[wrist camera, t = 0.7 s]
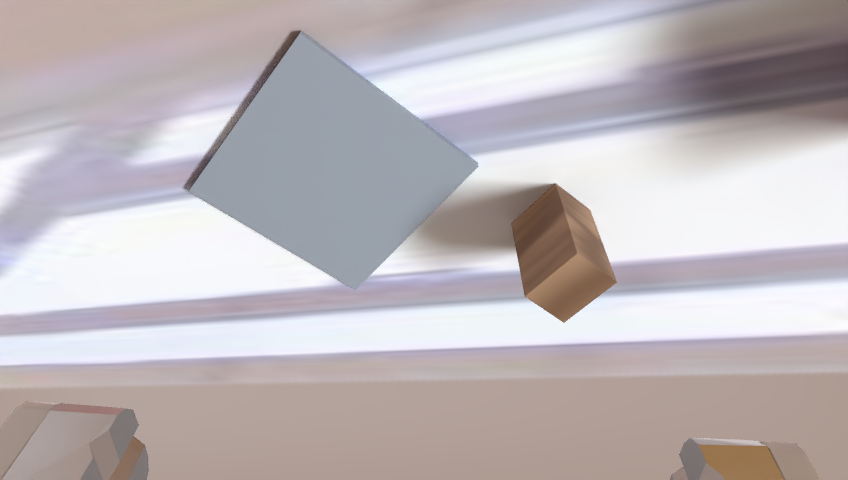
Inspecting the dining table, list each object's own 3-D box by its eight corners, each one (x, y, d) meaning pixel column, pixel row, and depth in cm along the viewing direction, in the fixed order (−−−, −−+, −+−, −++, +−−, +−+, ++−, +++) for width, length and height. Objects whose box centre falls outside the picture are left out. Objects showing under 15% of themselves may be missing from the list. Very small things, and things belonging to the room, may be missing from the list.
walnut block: (511, 223, 52) (524, 296, 45) (555, 183, 50) (577, 253, 43) (548, 250, 54) (566, 324, 47) (592, 212, 52) (619, 284, 44)
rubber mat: (191, 187, 50) (188, 191, 50) (301, 30, 43) (299, 33, 42) (355, 285, 56) (355, 289, 56) (477, 162, 49) (478, 166, 48)
